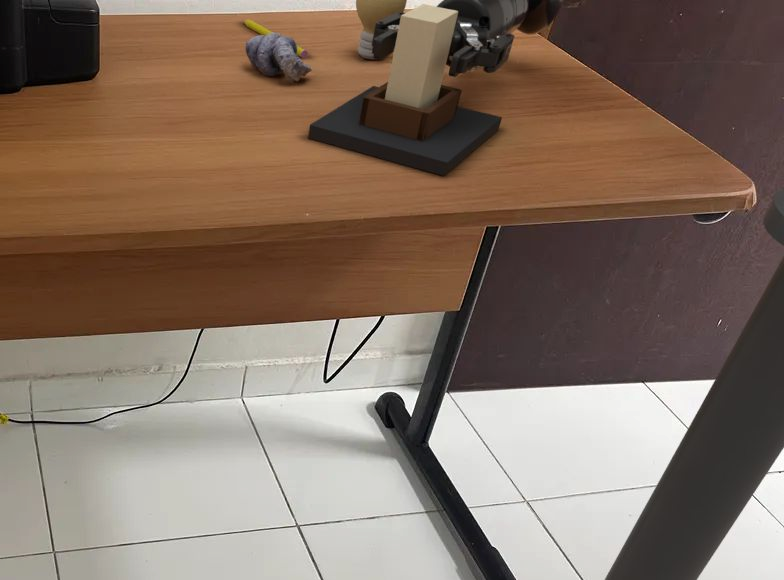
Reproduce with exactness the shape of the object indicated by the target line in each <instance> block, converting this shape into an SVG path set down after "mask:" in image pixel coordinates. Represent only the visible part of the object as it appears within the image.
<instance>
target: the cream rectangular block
mask: <svg viewBox="0 0 784 580" xmlns="http://www.w3.org/2000/svg"><path fill="white" fill-rule="evenodd" d="M404 13H405V14H403V15H401V19H400V24H399V29H398V34H397V39H396V44H395V49H394V52H393V56H392V60H391V64H390V65H391V66H390V69H389V75H388V81H387V82H388V85H387V90H386V95H385V100H389V101H393V102H397V103H401V104H405V105H409V106H413V107H417V108H421V109H427V108H428V107H430V106H431V105H432V104H434V103H435V102H437V100H438V96H439V92H440V87H441V85H442V83H443V80H444V74H445V71H446V66H447V65H446V62H447V58H448V53H449V49H450V45H451V41H452V36H453V32H454V28H455V23H456V19H457V15H458V11H455V10H450V9H445V8H440V7H437V6H435V5H429V4H424V3H423V4H421V5H418V6H417V7H414V8H413V9H411V10H409V11H407V12H404Z"/></svg>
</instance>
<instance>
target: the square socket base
mask: <svg viewBox="0 0 784 580" xmlns="http://www.w3.org/2000/svg"><path fill="white" fill-rule="evenodd" d="M387 85H388V81H386V82H385V83H383V84H382V85H380V86H376V85H373V86H371V87H369V88H368V89H366V90H364V91H363V92H361V93H359V94H358V95H356V96H354V97H353V98H351V99H349V100H348V101H346V102H344V103H343V104H341V105H340V106H338V107H337V108H335V109H333V110H331V111H330V112H329V113H327V114H325V115H324V116H322V117H320V118H319V119H316V121H314V122H312V123H310V124H309V129H308V134H307V138H308V139H311V140H314V141H317V142H320V143H326V144H328V145H332V146H335V147H338V148H343V149H346V150H349V151H353V152H356V153H361V154H364V155H366V156H367V155H368V156H372V157H375V158H378V159H381V160H386V161H389V162H393V163H395V164H399V165H403V166H405V167H411V168H413V169H416V170H420V171H424V172H427V173H430V174H435V175H439V176H442V177H444V176H446V175H447V174H449V172H450V171H451V170H453V169H454V168H455V167H456V166H458V165H459V164H460V163H462V161H463V160H465V159H466V158H467V157H468V156H469V155H471V154H472V153H473V152H474V151H476V150H477V149H478V148H479V147H480V146H481V145H483V144H484V143H485V142H486V141H488V139H490V138H491V137H492V136H493V135H495V134H496V133H497V132H498V131H499V129H500V126H501V122H502V119H503V116H498V115H494V114H491V113H486V112H482V111H478V110H474V109H470V108H466V107H462V106H459V103H460V99H461V96H462V89H460V88H457V87H452V86H447V85H443V84H441V87H440V92H439V96H438V100H437V102H435V103H434V104H432V105H431V106H430V107H428V108H427V109H421V108H417V107H413V106H409V105H405V104H401V103H397V102H393V101H389V100H385V95H386V90H387Z"/></svg>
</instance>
